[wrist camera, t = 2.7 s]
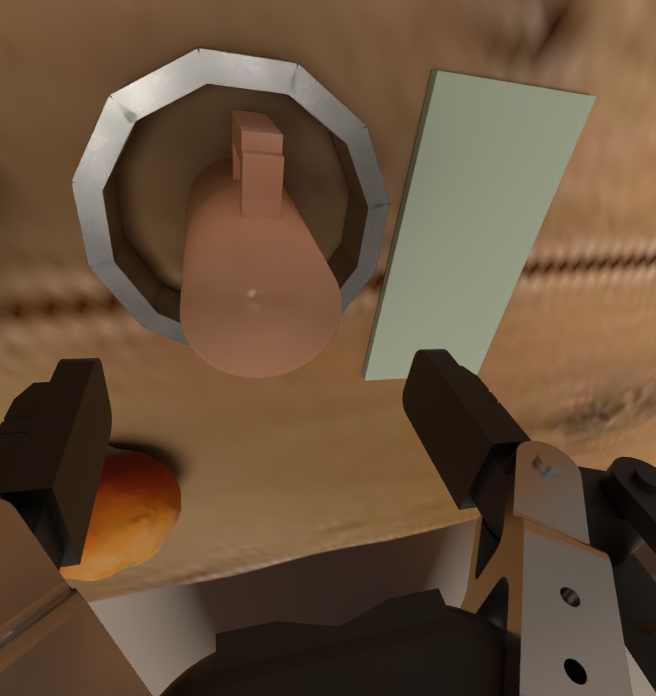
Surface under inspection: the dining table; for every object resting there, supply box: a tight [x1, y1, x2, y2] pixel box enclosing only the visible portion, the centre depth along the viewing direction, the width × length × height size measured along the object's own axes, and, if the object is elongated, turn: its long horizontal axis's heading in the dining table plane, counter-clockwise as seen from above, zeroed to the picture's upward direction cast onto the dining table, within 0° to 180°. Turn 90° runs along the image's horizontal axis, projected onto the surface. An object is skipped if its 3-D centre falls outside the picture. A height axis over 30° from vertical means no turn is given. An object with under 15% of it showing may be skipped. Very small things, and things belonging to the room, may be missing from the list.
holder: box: [72, 47, 390, 346], centre depth 20 cm, size 13×13×3 cm
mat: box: [362, 70, 596, 380], centre depth 25 cm, size 18×9×1 cm, turn 172°
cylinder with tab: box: [180, 110, 342, 378], centre depth 16 cm, size 7×5×10 cm
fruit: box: [59, 445, 181, 581], centre depth 27 cm, size 8×8×8 cm
